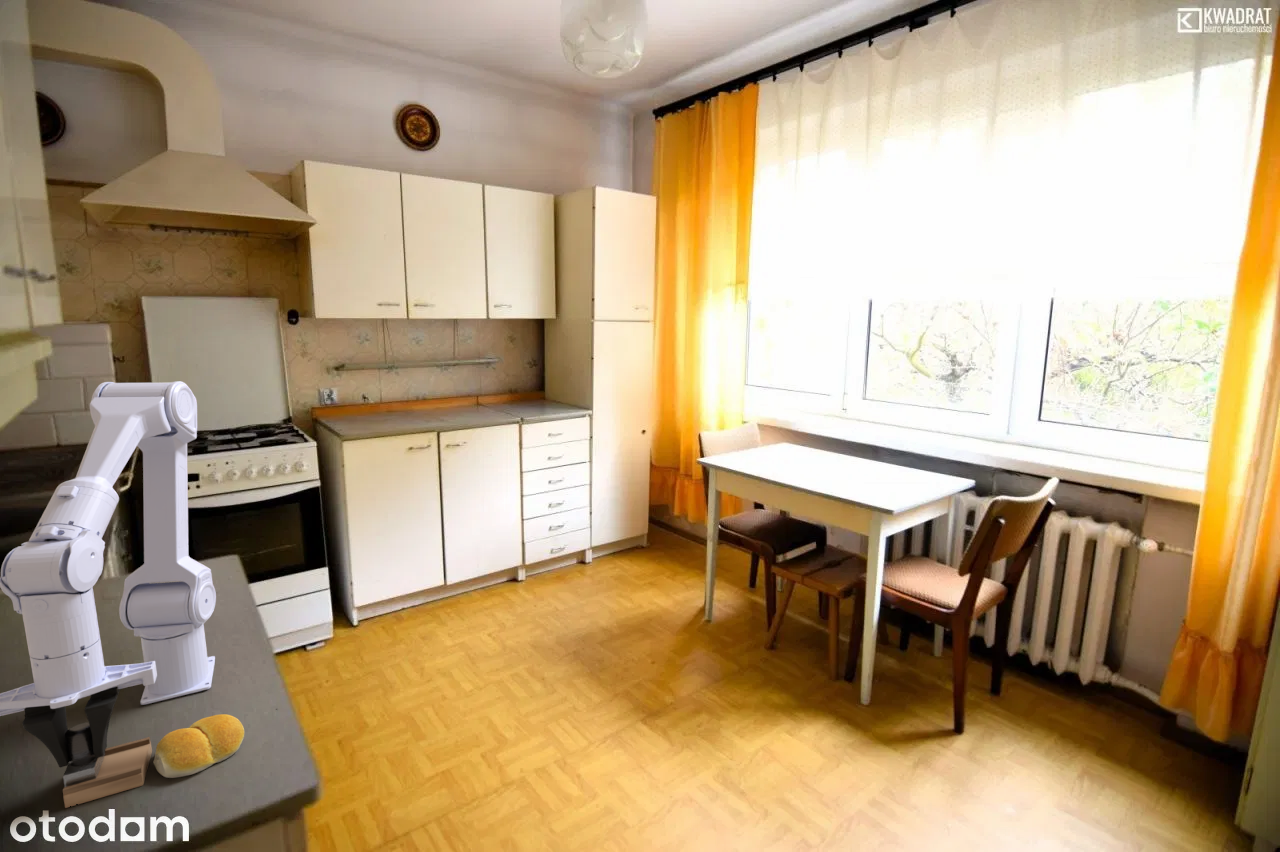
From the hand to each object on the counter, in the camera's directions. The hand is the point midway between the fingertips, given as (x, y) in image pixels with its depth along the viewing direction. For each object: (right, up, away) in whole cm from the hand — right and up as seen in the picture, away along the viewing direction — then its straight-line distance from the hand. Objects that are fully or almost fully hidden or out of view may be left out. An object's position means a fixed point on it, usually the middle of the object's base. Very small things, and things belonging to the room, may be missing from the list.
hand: (83, 756), depth 70 cm
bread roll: (+9, -3, +6) cm, 11 cm away
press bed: (+2, -3, +2) cm, 4 cm away
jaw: (0, -2, 0) cm, 2 cm away
